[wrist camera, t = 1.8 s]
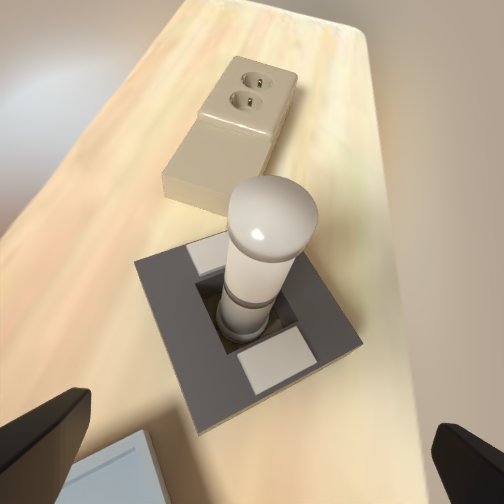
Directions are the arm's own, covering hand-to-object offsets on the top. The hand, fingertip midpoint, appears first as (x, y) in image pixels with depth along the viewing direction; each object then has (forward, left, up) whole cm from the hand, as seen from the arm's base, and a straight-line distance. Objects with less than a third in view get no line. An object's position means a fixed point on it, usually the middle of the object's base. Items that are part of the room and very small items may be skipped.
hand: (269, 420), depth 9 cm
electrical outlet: (+23, -12, -14) cm, 29 cm away
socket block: (+7, -4, -13) cm, 15 cm away
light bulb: (+7, -4, -13) cm, 15 cm away
